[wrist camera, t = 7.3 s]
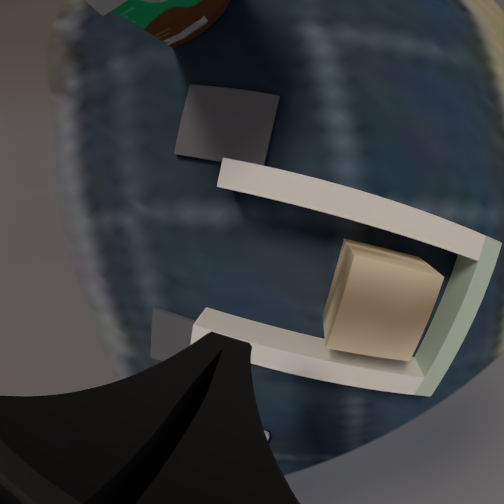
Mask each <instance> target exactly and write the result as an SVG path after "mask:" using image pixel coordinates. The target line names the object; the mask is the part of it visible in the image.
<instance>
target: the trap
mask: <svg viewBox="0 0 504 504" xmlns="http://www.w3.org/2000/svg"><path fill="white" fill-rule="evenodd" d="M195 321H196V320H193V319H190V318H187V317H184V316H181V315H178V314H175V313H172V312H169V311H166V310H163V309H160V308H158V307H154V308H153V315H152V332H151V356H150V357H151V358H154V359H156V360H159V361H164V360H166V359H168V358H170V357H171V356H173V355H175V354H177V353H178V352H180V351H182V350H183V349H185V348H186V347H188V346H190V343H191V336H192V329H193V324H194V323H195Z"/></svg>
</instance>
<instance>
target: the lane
mask: <svg viewBox="0 0 504 504" xmlns="http://www.w3.org/2000/svg"><path fill="white" fill-rule="evenodd" d="M217 187H221V188H225V189H230V190H234V191H239V192H243V193H248V194H252V195H256V196H261V197H265V198H269V199H273V200H277V201H281V202H285V203H289V204H293V205H297V206H301V207H305V208H309V209H313V210H317V211H320V212H324V213H328V214H332V215H335V216H339V217H342V218H346V219H349V220H353V221H357V222H360V223H363V224H367V225H370V226H374V227H377V228H380V229H384V230H387V231H390V232H393V233H397V234H400V235H403V236H406V237H409V238H412V239H416V240H419V241H422V242H425V243H428V244H431V245H434V246H437V247H440V248H443V249H446V250H448V251H451V252H454V253H457V254H458V256H457V259H456V262H455V265H454V268H453V271H452V273H451V276H450V279H449V281H448V284H447V287H446V289H445V292H444V294H443V297H442V299H441V302H440V304H439V306H438V309H437V311H436V313H435V316H434V318H433V320H432V322H431V325H430V327H429V329H428V331H427V333H426V335H425V337H424V339H423V341H422V343H421V345H420V347H419V349H418V351H417V353H416V355H415V357H411V359H410V361H403V360H395V359H388V358H381V357H374V356H368V355H362V354H356V353H350V352H344V351H339V350H333V349H328V348H325V339H322V338H318V337H314V336H310V335H306V334H301V333H297V332H293V331H289V330H286V329H282V328H278V327H274V326H270V325H267V324H263V323H259V322H255V321H252V320H248V319H245V318H241V317H238V316H234V315H231V314H227V313H224V312H221V311H217V310H214V309H211V308H207V307H206V308H205V310H204V311H203V312H202V314H201V315H200V316H199V317H198V319H197V320H196V321H195V323H194V324H193V329H192V336H191V343H190V345H191V344H193V343H194V342H196V341H197V340H199V339H200V338H202V337H203V336H204V335H206V334H207V333H209V332H211V331H212V332H215V333H218V334H221V335H225V336H228V337H231V338H234V339H238V340H241V341H245V342H248V343H250V344H251V346H252V350H251V364H255V365H259V366H262V367H266V368H270V369H274V370H278V371H282V372H286V373H290V374H295V375H299V376H303V377H308V378H312V379H317V380H322V381H327V382H332V383H337V384H342V385H348V386H354V387H360V388H366V389H372V390H379V391H386V392H393V393H401V394H410V395H420V396H431V395H432V394H433V392H434V391H435V389H436V388H437V386H438V384H439V383H440V381H441V380H442V378H443V376H444V375H445V373H446V371H447V370H448V368H449V366H450V364H451V363H452V361H453V359H454V357H455V355H456V354H457V352H458V350H459V348H460V346H461V344H462V342H463V340H464V338H465V336H466V334H467V332H468V330H469V328H470V326H471V324H472V322H473V320H474V317H475V315H476V313H477V311H478V308H479V306H480V304H481V301H482V299H483V296H484V294H485V291H486V289H487V286H488V284H489V281H490V278H491V276H492V273H493V270H494V267H495V264H496V261H497V258H498V255H499V251H500V248H501V245H502V243H501V242H499V241H496V240H494V239H492V238H490V237H487V236H485V235H483V234H480V233H478V232H476V231H473V230H471V229H468V228H466V227H463V226H461V225H458V224H456V223H453V222H451V221H448V220H446V219H443V218H440V217H438V216H435V215H432V214H430V213H427V212H424V211H421V210H418V209H416V208H413V207H410V206H407V205H404V204H401V203H398V202H395V201H392V200H389V199H386V198H383V197H379V196H376V195H373V194H370V193H366V192H363V191H360V190H356V189H353V188H350V187H346V186H343V185H339V184H335V183H332V182H328V181H324V180H321V179H317V178H313V177H309V176H305V175H301V174H297V173H293V172H289V171H285V170H280V169H276V168H271V167H267V166H262V165H258V164H253V163H248V162H243V161H238V160H233V159H228V158H223V159H222V164H221V169H220V174H219V178H218V183H217Z"/></svg>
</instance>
